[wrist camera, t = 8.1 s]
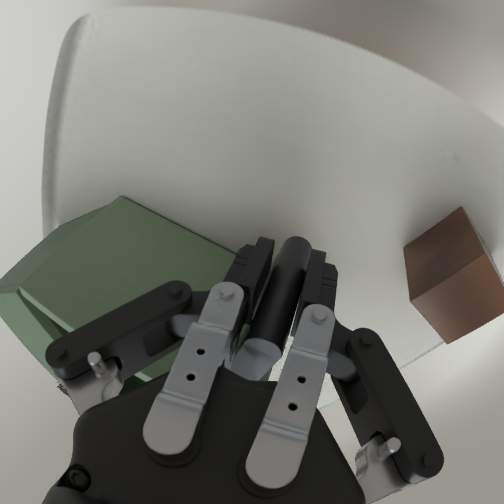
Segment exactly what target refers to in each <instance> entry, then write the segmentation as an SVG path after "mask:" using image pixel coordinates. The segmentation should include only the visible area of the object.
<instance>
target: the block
mask: <svg viewBox="0 0 504 504" xmlns="http://www.w3.org/2000/svg"><path fill="white" fill-rule="evenodd" d="M403 251H404V258H405V265H406V272H407V280H408V289H409V298H410V302H411V303H412V304H413V305H414V306H415V308H416V309H417V310H418V311H419V312H420V313H421V314H422V315H423V317H424V318H425V319H426V320H427V321H428V322H429V324H430V325H431V326H432V327H433V328H434V329H435V331H436V332H437V333H438V334H439V335H440V337H441V338H442V339H443V340H444V341H445V343H446V344H449V343H451V342H453V341H455V340H457V339H459V338H461V337H462V336H464V335H466V334H468V333H470V332H472V331H474V330H476V329H477V328H479V327H481V326H483V325H484V324H486V323H488V322H489V321H491V320H493V319H495V318H496V317H498V316H499V315H501V314H503V313H504V283H503V280H502V278H501V276H500V273H499V271H498V269H497V267H496V264H495V262H494V260H493V258H492V256H491V254H490V252H489V250H488V249H487V247H486V245H485V243H484V242H483V240H482V238H481V236H480V235H479V233H478V231H477V230H476V228H475V226H474V225H473V223H472V221H471V220H470V218H469V217H468V215H467V214H466V212H465V210H464V209H463V207H460V208H459V209H457V210H456V211H455V212H453V213H452V214H451V215H449V216H448V217H447V218H445V219H444V220H443V221H441V222H440V223H438V224H437V225H436V226H434V227H433V228H432V229H430V230H429V231H427V232H426V233H425V234H423V235H422V236H420V237H419V238H418V239H416V240H415V241H413V242H412V243H410V244H409V245H408V246H406V247H405V248H403Z"/></svg>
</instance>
